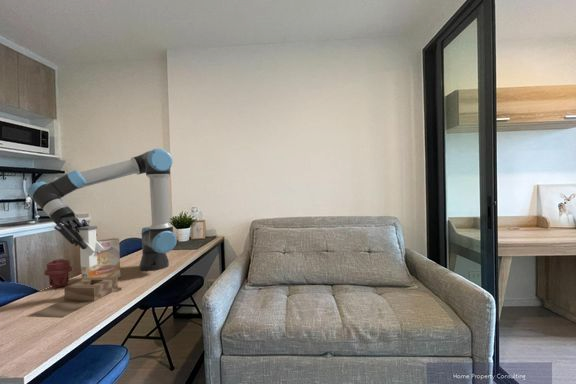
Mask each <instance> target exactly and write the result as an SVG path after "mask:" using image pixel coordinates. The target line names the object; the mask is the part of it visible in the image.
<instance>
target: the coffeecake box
mask: <svg viewBox="0 0 576 384" xmlns="http://www.w3.org/2000/svg"><path fill="white" fill-rule="evenodd" d="M96 240H97V241H98V242H99V243H100V244H101V246H102V247H103V248H104V249H103V250H102V251H101V253H98V252H97V265H94V266H91V267H81V266H80V268H81V269H80V270H81V281H82V280H84V279H87V278H89V277H118V278H119V277H120V278H121V259H120V258H121V257H120V256H121V255H120V250H121V249H120V239H119V238H118V237H108V238H104V239H96Z"/></svg>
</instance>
